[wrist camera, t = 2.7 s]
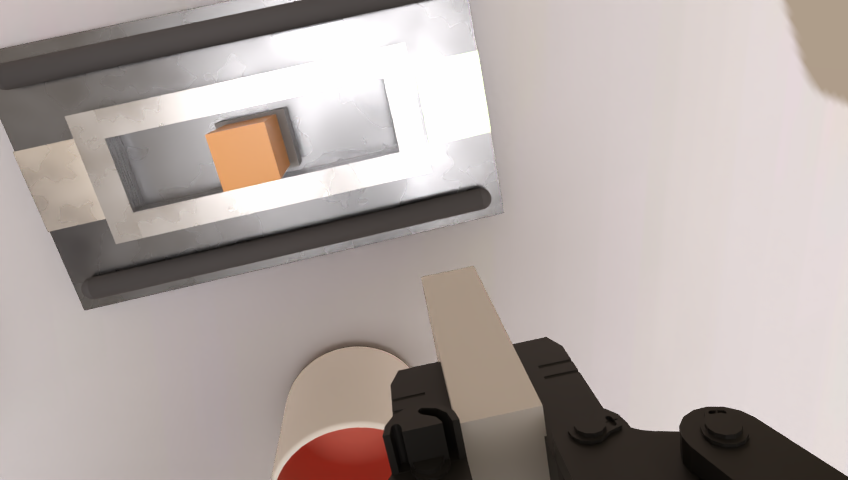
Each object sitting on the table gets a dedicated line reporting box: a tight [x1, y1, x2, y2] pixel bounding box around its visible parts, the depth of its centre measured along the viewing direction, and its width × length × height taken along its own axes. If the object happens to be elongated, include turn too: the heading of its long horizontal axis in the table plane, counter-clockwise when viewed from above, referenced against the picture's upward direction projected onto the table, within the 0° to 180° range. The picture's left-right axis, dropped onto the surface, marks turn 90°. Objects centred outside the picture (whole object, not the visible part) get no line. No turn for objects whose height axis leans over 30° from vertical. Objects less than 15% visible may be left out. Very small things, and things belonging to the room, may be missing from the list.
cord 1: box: [81, 188, 492, 299], centre depth 36 cm, size 26×1×1 cm, turn 102°
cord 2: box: [0, 0, 427, 90], centre depth 32 cm, size 26×1×1 cm, turn 102°
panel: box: [0, 0, 504, 310], centre depth 34 cm, size 28×16×3 cm, turn 102°
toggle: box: [205, 106, 302, 192], centre depth 32 cm, size 4×3×6 cm
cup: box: [271, 347, 409, 480], centre depth 38 cm, size 10×10×10 cm
